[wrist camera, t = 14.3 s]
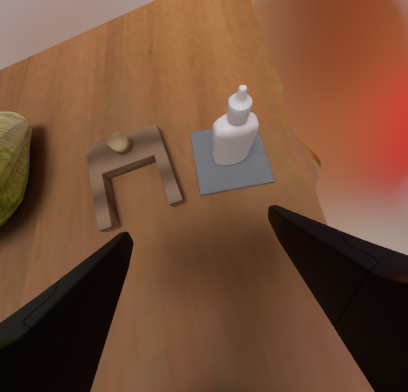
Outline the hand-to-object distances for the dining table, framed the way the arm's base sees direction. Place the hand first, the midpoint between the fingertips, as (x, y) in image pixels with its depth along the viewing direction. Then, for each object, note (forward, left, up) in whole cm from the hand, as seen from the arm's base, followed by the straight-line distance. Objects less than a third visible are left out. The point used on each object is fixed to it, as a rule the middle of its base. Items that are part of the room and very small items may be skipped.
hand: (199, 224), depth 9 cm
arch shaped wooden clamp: (+15, -2, -14) cm, 21 cm away
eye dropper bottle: (+3, -13, -13) cm, 19 cm away
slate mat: (+3, -13, -14) cm, 19 cm away
